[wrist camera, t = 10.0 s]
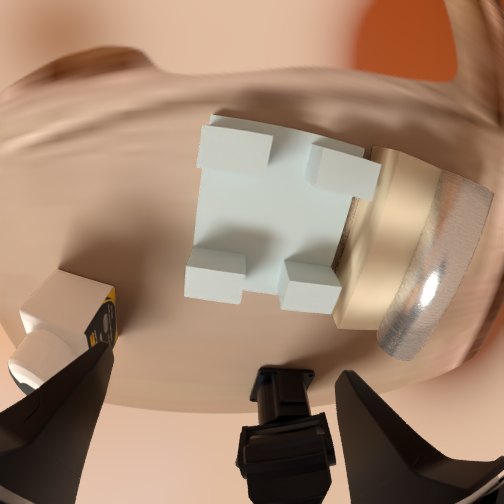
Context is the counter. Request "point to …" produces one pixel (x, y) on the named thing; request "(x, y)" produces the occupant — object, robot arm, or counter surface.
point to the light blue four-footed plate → (272, 213)
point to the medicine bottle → (62, 326)
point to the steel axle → (436, 265)
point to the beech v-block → (383, 238)
